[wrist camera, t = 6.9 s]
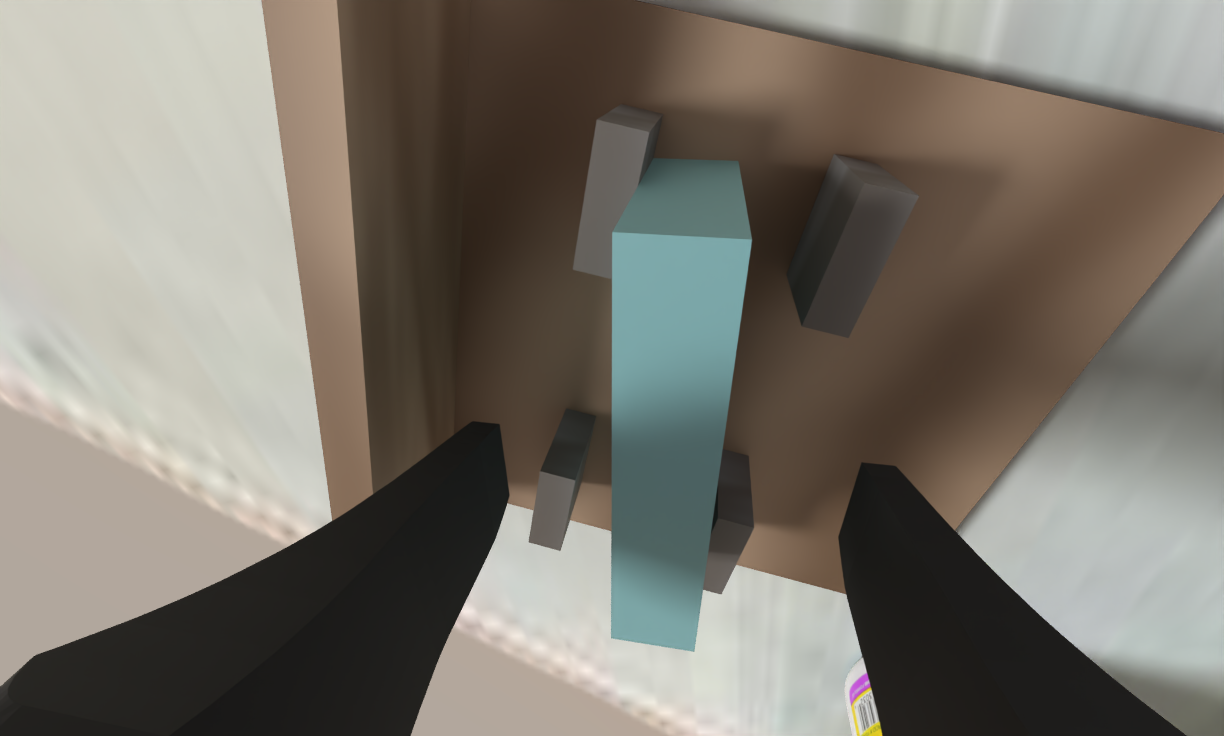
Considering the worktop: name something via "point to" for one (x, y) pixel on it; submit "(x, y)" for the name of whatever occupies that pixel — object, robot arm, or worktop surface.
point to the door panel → (672, 388)
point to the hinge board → (778, 265)
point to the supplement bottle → (861, 702)
